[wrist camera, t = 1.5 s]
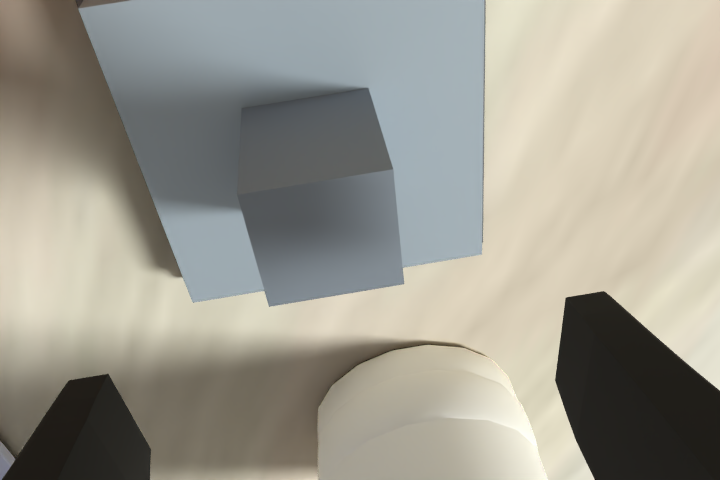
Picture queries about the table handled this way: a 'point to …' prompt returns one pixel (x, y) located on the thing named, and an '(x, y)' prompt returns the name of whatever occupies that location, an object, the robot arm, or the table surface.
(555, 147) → the table surface
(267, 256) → the lid
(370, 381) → the bottle
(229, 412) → the table surface
